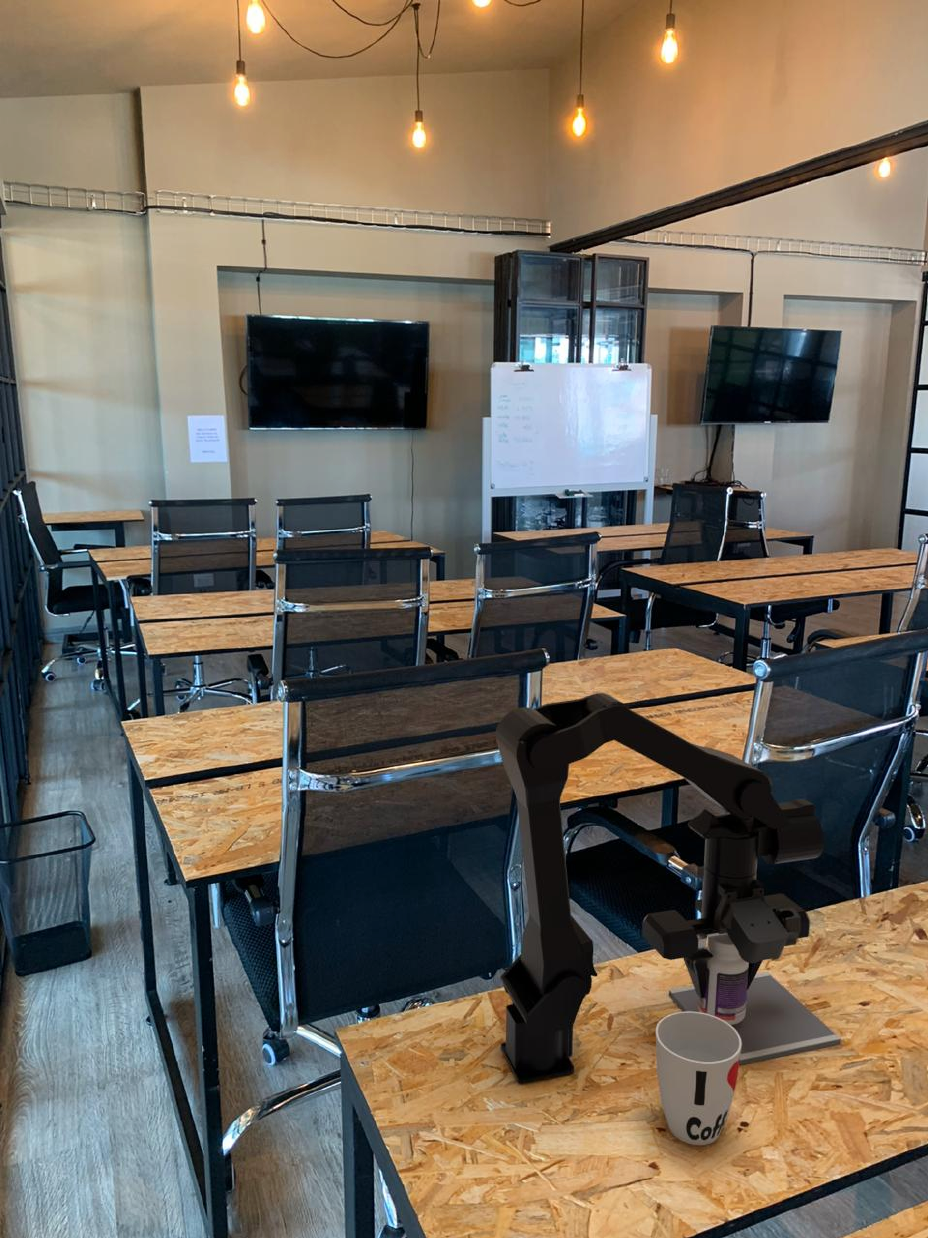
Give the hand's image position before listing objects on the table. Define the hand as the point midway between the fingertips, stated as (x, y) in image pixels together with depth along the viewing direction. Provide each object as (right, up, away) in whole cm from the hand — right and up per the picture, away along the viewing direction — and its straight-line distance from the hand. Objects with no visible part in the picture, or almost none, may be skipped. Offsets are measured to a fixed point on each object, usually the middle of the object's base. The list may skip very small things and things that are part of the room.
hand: (722, 992), depth 107 cm
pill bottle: (0, -3, +1) cm, 3 cm away
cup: (-7, -7, -15) cm, 18 cm away
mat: (+4, -4, +2) cm, 6 cm away
